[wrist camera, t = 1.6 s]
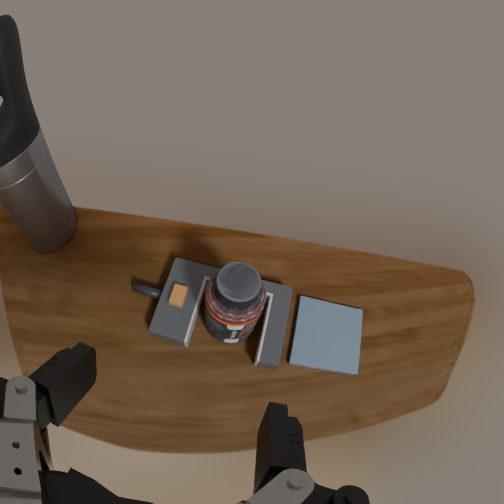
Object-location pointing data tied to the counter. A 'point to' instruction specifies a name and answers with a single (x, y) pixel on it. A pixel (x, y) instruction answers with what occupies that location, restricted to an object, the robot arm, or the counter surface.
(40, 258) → the counter surface
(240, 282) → the supplement bottle
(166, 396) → the counter surface
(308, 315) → the coaster
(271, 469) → the robot arm
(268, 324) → the grey c-shaped bracket
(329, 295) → the counter surface
